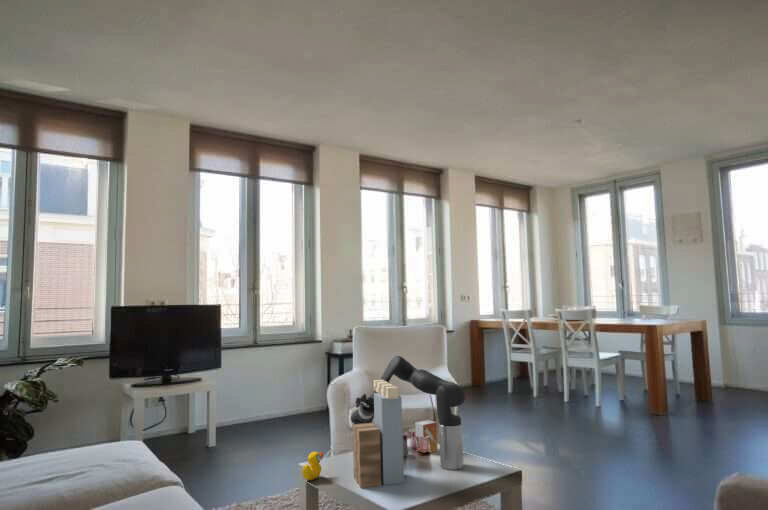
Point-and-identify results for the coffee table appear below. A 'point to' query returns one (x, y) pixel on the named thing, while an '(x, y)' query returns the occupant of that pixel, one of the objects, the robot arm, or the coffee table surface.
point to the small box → (427, 432)
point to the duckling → (312, 466)
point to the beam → (386, 389)
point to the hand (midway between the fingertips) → (374, 395)
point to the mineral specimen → (405, 448)
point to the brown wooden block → (366, 455)
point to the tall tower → (390, 438)
